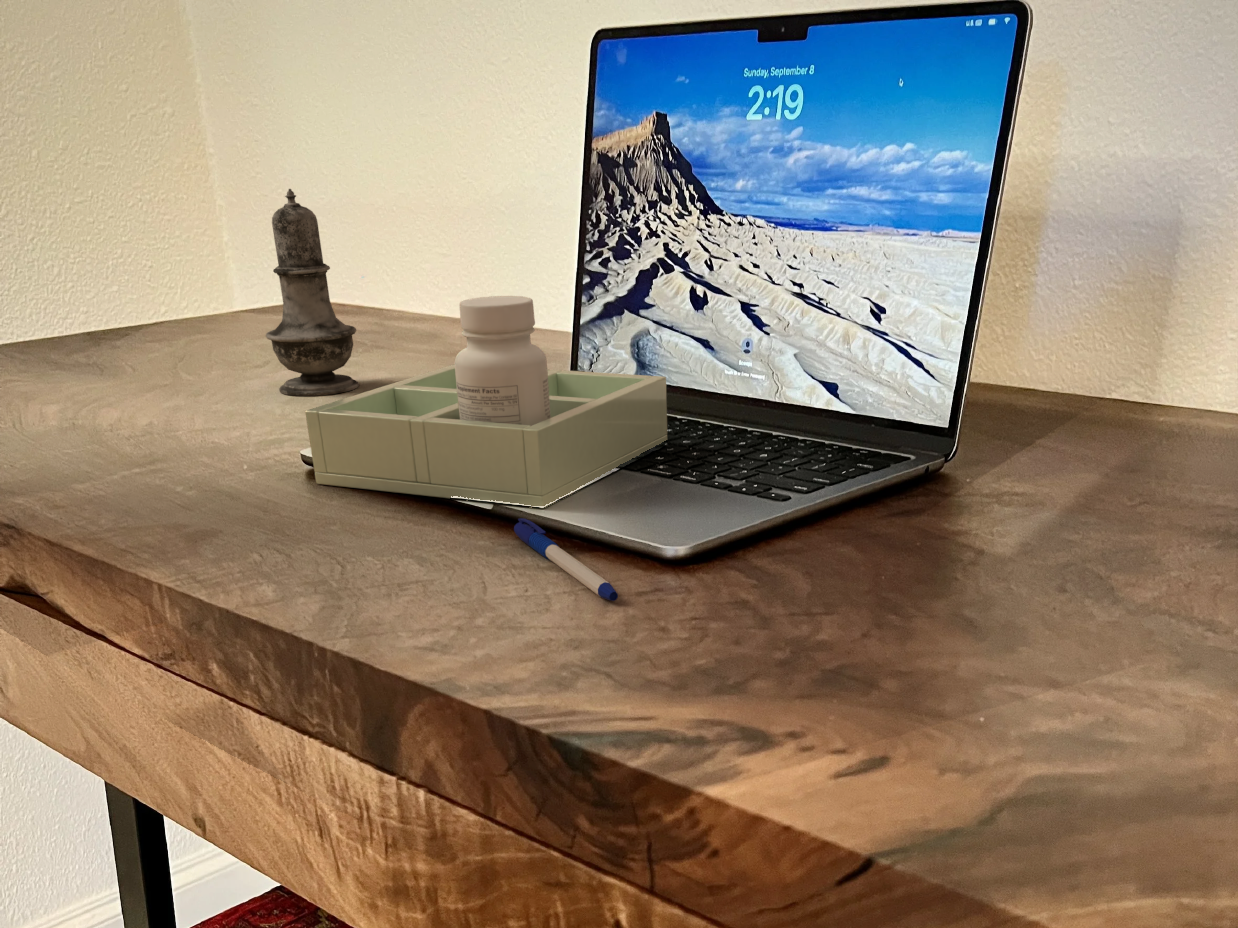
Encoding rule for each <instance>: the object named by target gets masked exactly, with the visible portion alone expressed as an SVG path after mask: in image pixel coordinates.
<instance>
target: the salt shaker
mask: <svg viewBox="0 0 1238 928" xmlns="http://www.w3.org/2000/svg"><path fill="white" fill-rule="evenodd" d="M284 197H285V198H286V199H287V203H284V205H283V206H282V207H280V208H278V209H277V210H275V211H274V213H273V215H272V217H271V226H272V232H273V233H272V234H273V239H274V245H275V252H276V258H277V265H278V266H276V267H275V268H273V271H272V272H273V273H274V274H276V275H277V276H278V279H279V285H280V291H281V298H282V318H281V322H279V324H278V325H277V326H276V328H275V329H272V330H269V331H267V332H266V333H265V338H266V339H267V340H269V341H271V346H272V351H273V353H274V354H275V356H276V358H277V360H278V361H279V363H280V364H281V365H282V366H284V368H286V369H287V370H288V371H290V372H294V373H298V374H300V376H297V377H293V378H290V379H287V380H286V381H284V384H282V385H280V387H279V388H278V391H279V392H280V393H281V394H283V395H287V396H295V397H297V396H298V397H311V396H312V397H314V396H315V397H316V396H327V395H328V396H329V395H335V394H341V393H345V392H350V391H353V390H356V389H358V388H360V387H359V386H360V383H359V382H358V381H357V380H356V379H353V378H352V377H351V376H350V375H347V374H338V373H335V372H334V371H337V370H339V369H341V368H343V367H344V366H346V364H347V363H348V361H349V360H350V358H351V357H352V353H353V349H354V348H353V347H354V339H353V335H355V334H356V332H357V328H356V327H355V326H353V325H350V324H345V323H344V322H343V321H341V320H340V319H339V318H338V317H337V315H336V314H335V311H334V308H333V305H332V302H331V298H330V292H329V286H328V285H329V284H328V278H327V277H328V276H327V273H328V271H330V270H331V266H330V265H328V264H326V263H324V258H323V251H322V244H321V237H320V230H319V223H318V219H317V215H316V214H315V213H314V212H313V211H312V210H311V209H309V208H308V207H306V206H302V205H301V204H300V203H298V202H296V197H297V195H296V194H295V192H294V191H293V190H292V189H291V188H288V191H286V195H284Z"/></svg>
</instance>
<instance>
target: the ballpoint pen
mask: <svg viewBox="0 0 1238 928" xmlns="http://www.w3.org/2000/svg"><path fill="white" fill-rule="evenodd" d="M517 521H518V522H517V523H515V525H514V527H513V531H514V533H515V535H516V536H517V537H518V538H519V539H520V540H521V541H522V542H523V543H525V544H526V545H527V546H528V547H530V548H531V549H533V550H534V551H535V552H537V554H539V555H541V556H542V557H543V558H545V559H546V560H548V561H551V562H552V563H553V564H555V565H557V567H559V568H560V569H561V570H563V571H565V572H566V573H567V574H569V575H570V576H571V577H572V578H574V579H575V580H576V581H578V582H579V583H581V584H582V585H584V586H585V587H586V588H587V589H589V590H590V591H592V592H593V593H594V594H596V595H597V596H598V597H599V598H601V599H603V600H608V601H611V602H614V601H617V600H618V598H619V594H618V591H616V589H615V588H614V586H613V585H612V584H611V583H610V582H609V581H607V580H606V579H604V578H603V577H602V576H600V575H599V574H598V573H596V571H593V570H592V569H590V568H589V567H588V566H586V565H585V564H584V563H582V562H581V561H579V560H578V559H576V558H575V557H574V556H573V555H571V554H569V553H568V552H567V551H565V550H564V549H562V547H561V548H560V546H559V545H558V544H557V543H556V542H554V541H553V540H552V539H551V538H549V537H547V536H546V534H547V532H546V531H545V530H544V529H542V527H540V526H539V525H538V524H536V523H534V522H533V521H531V520H530V519H527V518H523V517H521V518H520V517H519V518H517Z"/></svg>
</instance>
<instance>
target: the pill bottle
mask: <svg viewBox="0 0 1238 928" xmlns="http://www.w3.org/2000/svg"><path fill="white" fill-rule="evenodd" d="M459 317H460V318H459V319H460V328H461V329H462V331H461V336H463V337H465V338H466V347H464V348H463V349H461V350H460V351H459V352H458V353H457V354H456V356H455V359H454V364H455V375H456V386H457V395H458V406H459V416H460V420H469V421H481V422H494V423H506V424H518V425H530V426H532V425H535V424H537V423H540V422H542V421H545V420H547V419H550V418H551V415H550V400H549V386H548V370H547V369H548V362H547V356H546V353H545V351H544V350H543V349H542V348H540V347H539V346H538V345H535V344H533V343H532V341H531V340H532V339H531V334H533V333H534V332H535V331H536V330H535V328H534V326H535V325H536V319H535V309H534V301H533V299H532V298H531V297H528V296H522V295H492V296H481V297H480V296H479V297H473V298H468V299H463V300H461V301H460V302H459Z"/></svg>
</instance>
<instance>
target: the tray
mask: <svg viewBox="0 0 1238 928" xmlns="http://www.w3.org/2000/svg"><path fill="white" fill-rule="evenodd" d="M547 370H548V386H549V400H550V415H551V418H550V419H547V420H545V421H542V422H540V423H537V424H535V425H532V426H530V425H518V424H506V423H494V422H481V421H469V420H460V416H459V406H458V395H457V386H456V375H455V363H453V364H449V365H447V366H443V367H439V368H437V369H434V370H431V371H428V372H425V373H421V374H418V375H415V376H412V377H409V378H405V379H403V380H399V381H396V382H392V383H390V384H385V385H383V386H380V387H377V388H374V389H371V390H367V391H364V392H361V393H357V394H354V395H351V396H348V397H345V398H342V399H339V400H336V401H332V402H329V403H326V404H321V405H319V406H315V407H312V408H309V409H307V410H305V411H304V413H305V419H306V425H307V432H308V439H309V440H308V441H309V446H310V452H311V459H312V464H313V471H314V478H315V483H316V484H317V485H325V486H332V487H333V486H334V487H342V488H351V489H359V490H360V489H361V490H368V491H369V490H370V491H379V492H389V493H397V494H407V495H414V496H423V497H424V496H425V497H433V498H441V499H450V498H451V496H452V497H453V496H458V497H460V496H461V497H464V498H466V497H467V498H468V499H469V498H471V499H473V498H474V499H480V500H490V501H491V500H493V501H495V500H496V501H503V502H510V503H519V504H524V505H531V506H545V505H546V504H549V503H550V502H553V501H555V500H556V499H559V497H562V496H564V495H566V494H568V493H570V492H571V491H574V490H576V489H577V488H579V487H580V486H582V485H585V484H586V483H588V482H590V481H592V480H594V479H595V478H597V477H600V476H601V475H602V474H605V473H606V472H608V471H611V470H612V469H614V468H616V467H618V466H619V465H620V464H623V463H625V462H627V461H629V460H631V459H632V458H635V457H636V456H639V455H640V454H641V453H643V452H645V451H647V450H649V449H651V448H653V447H655V446H656V445H659V444H661V443H662V442H664V441H666V440H668V439H669V438H668V405H667V404H668V401H667V400H668V399H667V377H666V376H661V375H646V374H645V375H644V374H628V373H613V372H612V373H611V372H610V373H609V372H595V371H581V370H561V369H548V368H547Z"/></svg>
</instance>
